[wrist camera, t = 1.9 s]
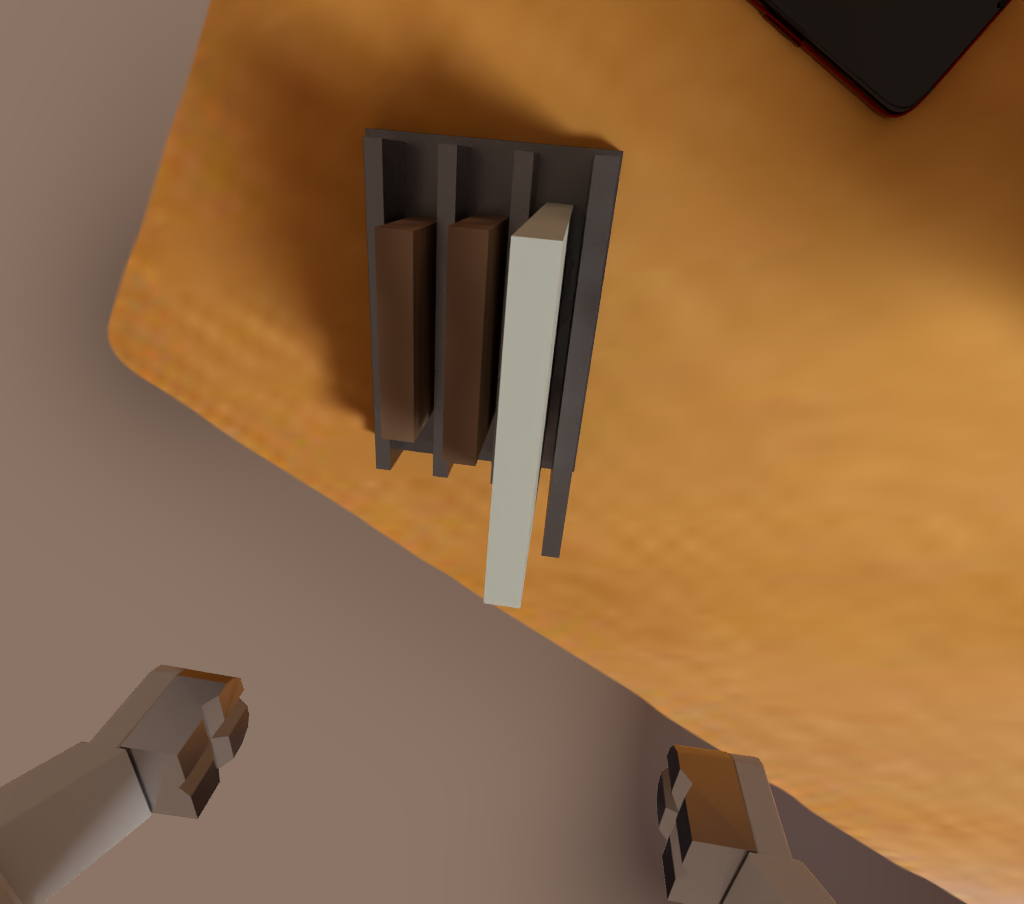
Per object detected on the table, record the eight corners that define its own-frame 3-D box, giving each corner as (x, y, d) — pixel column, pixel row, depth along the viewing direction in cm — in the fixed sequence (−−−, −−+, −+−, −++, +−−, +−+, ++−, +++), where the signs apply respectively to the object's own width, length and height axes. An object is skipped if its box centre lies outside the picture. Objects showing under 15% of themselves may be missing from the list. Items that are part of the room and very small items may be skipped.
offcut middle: (509, 216, 33) (488, 230, 26) (495, 412, 39) (475, 466, 32) (476, 213, 33) (447, 226, 26) (467, 409, 40) (442, 461, 33)
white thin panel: (573, 205, 33) (563, 241, 17) (546, 431, 40) (520, 608, 24) (547, 202, 33) (511, 236, 17) (524, 428, 40) (483, 602, 24)
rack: (621, 151, 32) (640, 144, 21) (574, 462, 42) (570, 566, 31) (374, 129, 33) (270, 111, 22) (383, 437, 43) (315, 530, 32)
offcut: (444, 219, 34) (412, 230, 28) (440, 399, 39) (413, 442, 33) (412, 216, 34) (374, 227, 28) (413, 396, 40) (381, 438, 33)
